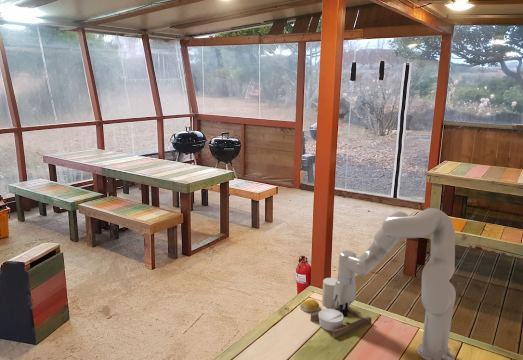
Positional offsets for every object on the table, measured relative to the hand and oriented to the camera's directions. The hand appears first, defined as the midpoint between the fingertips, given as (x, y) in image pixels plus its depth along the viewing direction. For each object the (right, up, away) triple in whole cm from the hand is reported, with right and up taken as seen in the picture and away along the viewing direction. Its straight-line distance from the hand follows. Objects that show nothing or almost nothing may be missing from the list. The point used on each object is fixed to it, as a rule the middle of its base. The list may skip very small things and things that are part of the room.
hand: (343, 315), depth 193 cm
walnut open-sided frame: (-1, -3, 0) cm, 3 cm away
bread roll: (-14, 0, +11) cm, 18 cm away
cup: (-4, +1, +16) cm, 16 cm away
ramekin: (-7, -4, -3) cm, 8 cm away
